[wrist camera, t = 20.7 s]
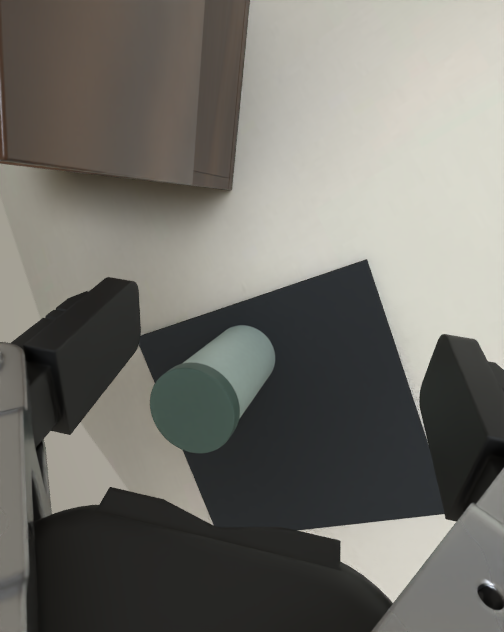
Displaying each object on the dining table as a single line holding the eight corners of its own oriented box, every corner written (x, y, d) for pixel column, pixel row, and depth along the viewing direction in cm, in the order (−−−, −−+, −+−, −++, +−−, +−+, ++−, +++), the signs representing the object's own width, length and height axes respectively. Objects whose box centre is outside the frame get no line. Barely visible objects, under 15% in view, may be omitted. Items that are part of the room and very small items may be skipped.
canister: (228, 393, 35) (170, 460, 25) (204, 333, 34) (136, 380, 25) (287, 377, 33) (248, 444, 23) (262, 314, 32) (213, 357, 23)
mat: (221, 535, 39) (219, 539, 38) (139, 336, 36) (135, 337, 36) (449, 509, 32) (450, 513, 31) (366, 259, 29) (366, 260, 29)
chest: (66, 171, 35) (-12, 162, 28) (64, -7, 31) (-25, -68, 24) (232, 190, 31) (189, 185, 24) (250, -10, 27) (207, -82, 21)
